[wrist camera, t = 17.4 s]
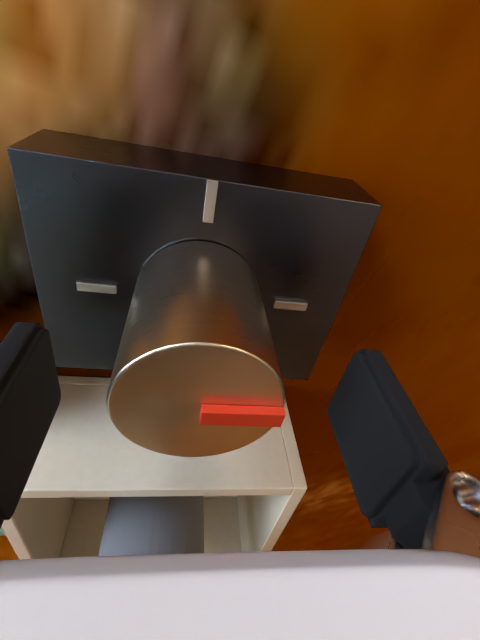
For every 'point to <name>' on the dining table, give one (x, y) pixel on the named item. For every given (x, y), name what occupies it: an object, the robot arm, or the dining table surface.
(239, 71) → the dining table surface
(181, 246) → the dial knob
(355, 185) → the dial faceplate
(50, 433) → the white storage tray
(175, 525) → the bottle
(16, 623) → the robot arm
